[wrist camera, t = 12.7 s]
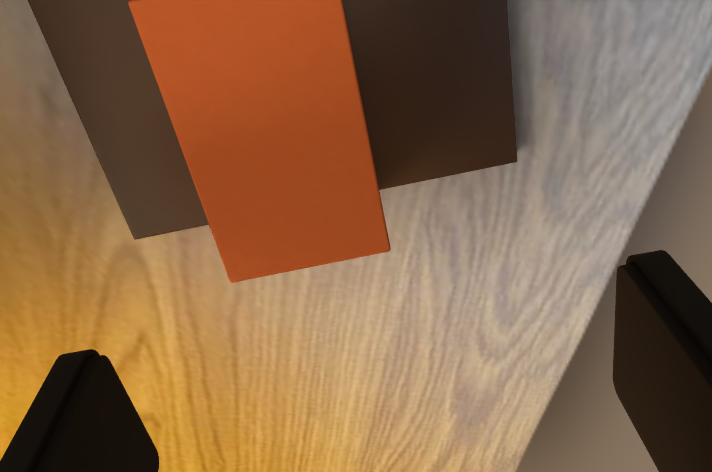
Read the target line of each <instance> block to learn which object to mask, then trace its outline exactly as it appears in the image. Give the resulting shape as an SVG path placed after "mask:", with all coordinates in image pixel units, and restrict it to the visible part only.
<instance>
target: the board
mask: <svg viewBox="0 0 712 472" xmlns="http://www.w3.org/2000/svg"><path fill="white" fill-rule="evenodd" d="M129 1H130V0H28V2H29V4H30V6H31V8H32V11H33V13H34V15H35V17H36V20H37V22H38V24H39V26H40V29H41V31H42V33H43V35H44V38H45V40H46V42H47V44H48V47H49V49H50V51H51V53H52V56H53V58H54V60H55V62H56V65H57V67H58V69H59V71H60V74H61V76H62V78H63V80H64V83H65V85H66V87H67V89H68V92H69V94H70V96H71V98H72V101H73V103H74V105H75V107H76V110H77V112H78V114H79V116H80V119H81V121H82V123H83V125H84V128H85V130H86V132H87V134H88V137H89V139H90V141H91V143H92V146H93V148H94V150H95V152H96V155H97V157H98V159H99V161H100V164H101V166H102V168H103V170H104V173H105V175H106V177H107V179H108V181H109V184H110V186H111V188H112V190H113V193H114V195H115V197H116V199H117V202H118V204H119V206H120V208H121V211H122V213H123V215H124V217H125V220H126V222H127V224H128V226H129V229H130V231H131V233H132V235H133V238H134V239H140V238H145V237H150V236H155V235H160V234H165V233H170V232H174V231H179V230H184V229H189V228H194V227H199V226H204V225H209V223H208V220H207V217H206V214H205V212H204V209H203V206H202V204H201V201H200V198H199V195H198V193H197V190H196V187H195V184H194V182H193V179H192V176H191V173H190V171H189V168H188V165H187V163H186V160H185V157H184V154H183V152H182V149H181V146H180V143H179V141H178V138H177V135H176V133H175V130H174V127H173V124H172V122H171V119H170V116H169V113H168V111H167V108H166V105H165V103H164V100H163V97H162V94H161V92H160V89H159V86H158V83H157V81H156V78H155V75H154V72H153V70H152V67H151V64H150V62H149V59H148V56H147V53H146V51H145V48H144V45H143V42H142V40H141V37H140V34H139V32H138V29H137V26H136V23H135V21H134V18H133V15H132V12H131V10H130V7H129V4H128V2H129ZM342 4H343V9H344V14H345V19H346V24H347V29H348V34H349V39H350V44H351V49H352V55H353V60H354V65H355V70H356V75H357V80H358V85H359V90H360V95H361V100H362V106H363V111H364V116H365V121H366V126H367V131H368V136H369V141H370V146H371V151H372V156H373V162H374V167H375V172H376V177H377V182H378V187H379V190H381V189H386V188H391V187H396V186H400V185H405V184H410V183H415V182H420V181H425V180H430V179H435V178H440V177H445V176H450V175H455V174H459V173H464V172H469V171H474V170H479V169H484V168H489V167H494V166H499V165H504V164H509V163H514V162H517V150H516V135H515V119H514V104H513V89H512V74H511V58H510V43H509V28H508V12H507V0H342Z"/></svg>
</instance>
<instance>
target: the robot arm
mask: <svg viewBox="0 0 712 472" xmlns="http://www.w3.org/2000/svg"><path fill="white" fill-rule="evenodd" d="M613 382H614V386H615V390H616V393H617V395H618V397H619V399H620V401H621V403H622V405H623V407H624V408H625V410H626V412H627V414H628V416H629V417H630V419H631V421H632V423H633V425H634V427H635V429H636V430H637V432H638V434H639V436H640V438H641V440H642V441H643V443H644V445H645V447H646V449H647V451H648V452H649V454H650V456H651V458H652V460H653V462H654V463H655V465H656V467H657V469H658V471H659V472H712V303H711V302H710V301H709V299H708V298H707V297H706V296H705V295H704V294H703V293H702V291H701V290H700V289H699V288H698V287H697V286H696V285H695V283H694V282H693V281H692V280H691V279H690V278H689V277H688V276H687V274H686V273H684V271H683V270H682V269H681V268H680V266H679V265H678V264H677V263H676V262H675V261H674V260H673V258H672V257H671V256H670V255H669V254H668V253H667V252H666V251H663V250H659V251H654V252H648V253H642V254H636V255H631V256H629V257H628V259H627V261H626V265H622V266H619V267H618V269H617V281H616V306H615V333H614V359H613ZM158 469H159V456H158V452H157V449H156V447H155V446H154V444H153V442H152V440H151V438H150V436H149V434H148V432H147V430H146V428H145V426H144V425H143V423H142V421H141V419H140V417H139V415H138V413H137V411H136V409H135V407H134V406H133V404H132V402H131V400H130V398H129V396H128V394H127V392H126V390H125V388H124V387H123V385H122V383H121V381H120V379H119V377H118V375H117V373H116V371H115V369H114V367H113V366H112V364H111V362H110V360H109V359H108V357H106V356H105V355H101V356H100V355H99V353H98V352H97V351H95V350H91V349H90V350H84V351H78V352H73V353H67V354H62V355H60V356H59V357H58V358H57V360H56V361H55V363H54V365H53V367H52V368H51V370H50V372H49V374H48V376H47V377H46V379H45V381H44V383H43V385H42V386H41V388H40V390H39V392H38V394H37V396H36V397H35V399H34V401H33V403H32V405H31V406H30V408H29V410H28V412H27V414H26V415H25V417H24V419H23V421H22V423H21V424H20V426H19V428H18V430H17V432H16V434H15V435H14V437H13V439H12V441H11V443H10V444H9V446H8V448H7V450H6V452H5V453H4V455H3V457H2V459H1V461H0V472H158Z"/></svg>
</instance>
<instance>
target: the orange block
mask: <svg viewBox="0 0 712 472" xmlns="http://www.w3.org/2000/svg"><path fill="white" fill-rule="evenodd" d="M128 4H129V7H130V10H131V12H132V15H133V18H134V21H135V23H136V26H137V29H138V32H139V34H140V37H141V40H142V42H143V45H144V48H145V51H146V53H147V56H148V59H149V62H150V64H151V67H152V70H153V72H154V75H155V78H156V81H157V83H158V86H159V89H160V92H161V94H162V97H163V100H164V103H165V105H166V108H167V111H168V113H169V116H170V119H171V122H172V124H173V127H174V130H175V133H176V135H177V138H178V141H179V143H180V146H181V149H182V152H183V154H184V157H185V160H186V163H187V165H188V168H189V171H190V173H191V176H192V179H193V182H194V184H195V187H196V190H197V193H198V195H199V198H200V201H201V204H202V206H203V209H204V212H205V214H206V217H207V220H208V223H209V225H210V228H211V231H212V234H213V236H214V239H215V242H216V244H217V247H218V250H219V253H220V255H221V258H222V261H223V264H224V266H225V269H226V272H227V274H228V277H229V280H230V282H232V283H233V282H238V281H243V280H248V279H253V278H258V277H263V276H268V275H273V274H278V273H283V272H288V271H293V270H298V269H303V268H308V267H313V266H318V265H323V264H328V263H333V262H338V261H343V260H348V259H353V258H358V257H363V256H368V255H373V254H378V253H383V252H388V251H390V249H391V248H390V243H389V238H388V233H387V228H386V223H385V218H384V213H383V207H382V202H381V197H380V192H379V187H378V182H377V177H376V172H375V167H374V162H373V156H372V151H371V146H370V141H369V136H368V131H367V126H366V121H365V116H364V111H363V106H362V100H361V95H360V90H359V85H358V80H357V75H356V70H355V65H354V60H353V55H352V49H351V44H350V39H349V34H348V29H347V24H346V19H345V14H344V9H343V4H342V0H130V1H129V2H128Z"/></svg>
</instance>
